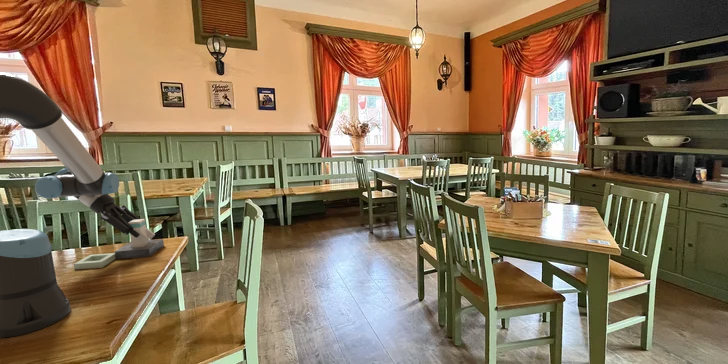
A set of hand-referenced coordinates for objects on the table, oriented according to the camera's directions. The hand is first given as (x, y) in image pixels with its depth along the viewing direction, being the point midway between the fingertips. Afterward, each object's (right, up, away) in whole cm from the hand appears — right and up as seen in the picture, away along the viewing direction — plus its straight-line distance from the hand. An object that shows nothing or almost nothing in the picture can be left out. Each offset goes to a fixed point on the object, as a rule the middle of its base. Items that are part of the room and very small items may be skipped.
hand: (149, 238), depth 135 cm
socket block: (-4, -5, 0) cm, 6 cm away
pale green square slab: (-13, -7, -10) cm, 18 cm away
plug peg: (-4, -3, 0) cm, 5 cm away
